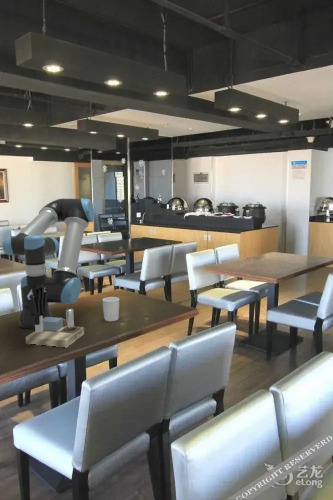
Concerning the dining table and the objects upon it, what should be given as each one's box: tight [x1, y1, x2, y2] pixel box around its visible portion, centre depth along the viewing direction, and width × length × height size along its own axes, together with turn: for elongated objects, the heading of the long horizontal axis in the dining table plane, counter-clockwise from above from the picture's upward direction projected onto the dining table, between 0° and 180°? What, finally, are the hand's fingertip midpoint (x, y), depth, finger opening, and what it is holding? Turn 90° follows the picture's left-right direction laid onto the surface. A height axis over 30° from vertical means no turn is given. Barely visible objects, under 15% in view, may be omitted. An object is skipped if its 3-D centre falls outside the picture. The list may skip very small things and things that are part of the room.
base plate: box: [25, 318, 85, 349], centre depth 171 cm, size 18×16×6 cm
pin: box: [65, 308, 75, 331], centre depth 172 cm, size 3×3×12 cm
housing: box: [43, 316, 64, 331], centre depth 175 cm, size 8×6×4 cm
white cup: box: [102, 296, 120, 322], centre depth 195 cm, size 8×8×10 cm
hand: (39, 331), depth 166 cm, fingers closed
